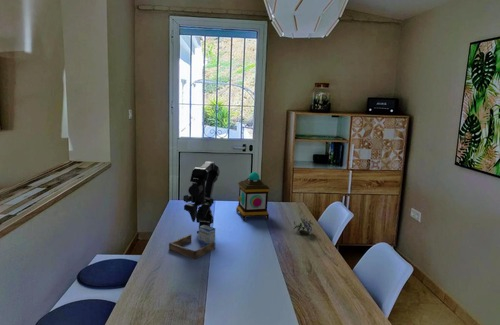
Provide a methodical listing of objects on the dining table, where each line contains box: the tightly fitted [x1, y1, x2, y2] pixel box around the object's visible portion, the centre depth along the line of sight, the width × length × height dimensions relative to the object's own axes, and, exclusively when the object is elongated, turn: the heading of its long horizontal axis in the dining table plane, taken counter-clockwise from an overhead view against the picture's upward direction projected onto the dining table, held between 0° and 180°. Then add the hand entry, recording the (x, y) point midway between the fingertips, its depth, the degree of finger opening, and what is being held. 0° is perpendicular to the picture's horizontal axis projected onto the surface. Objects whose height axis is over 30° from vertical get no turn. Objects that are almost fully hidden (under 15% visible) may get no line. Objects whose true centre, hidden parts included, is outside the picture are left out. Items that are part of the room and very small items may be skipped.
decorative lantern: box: [235, 171, 271, 221], centre depth 238 cm, size 20×20×30 cm
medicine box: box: [198, 225, 216, 245], centre depth 193 cm, size 8×4×9 cm, turn 57°
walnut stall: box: [168, 234, 216, 260], centre depth 184 cm, size 16×17×4 cm
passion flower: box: [293, 217, 314, 236], centre depth 214 cm, size 11×11×12 cm
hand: (198, 219), depth 194 cm, fingers open, 9 cm apart
